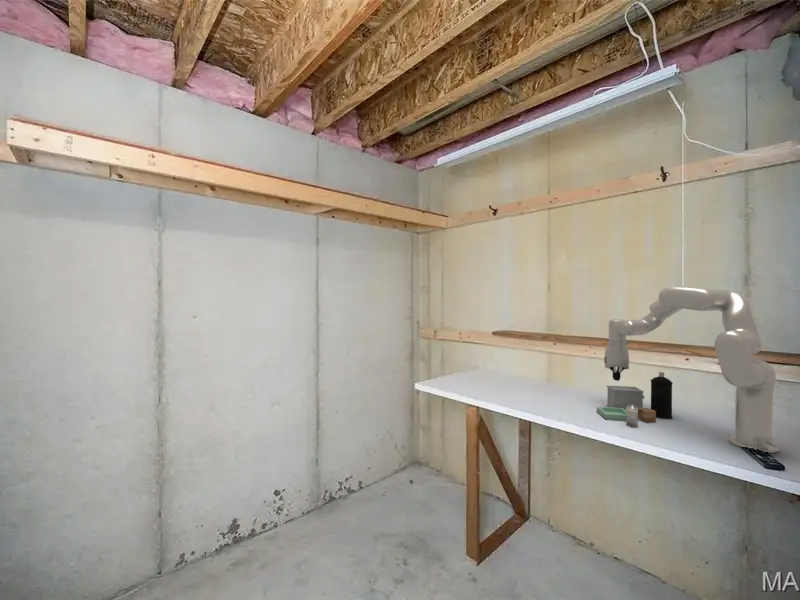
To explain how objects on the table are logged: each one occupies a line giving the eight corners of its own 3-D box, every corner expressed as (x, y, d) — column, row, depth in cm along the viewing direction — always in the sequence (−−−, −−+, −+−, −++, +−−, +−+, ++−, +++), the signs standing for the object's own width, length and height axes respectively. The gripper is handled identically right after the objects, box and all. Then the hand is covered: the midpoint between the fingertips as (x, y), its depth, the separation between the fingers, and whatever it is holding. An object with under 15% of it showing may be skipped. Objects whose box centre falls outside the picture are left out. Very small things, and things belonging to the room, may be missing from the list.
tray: (633, 421, 152) (633, 415, 152) (606, 419, 154) (606, 414, 154) (622, 413, 163) (622, 408, 163) (596, 411, 164) (596, 406, 164)
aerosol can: (676, 419, 154) (677, 374, 154) (655, 418, 156) (656, 373, 156) (666, 413, 162) (666, 371, 162) (646, 412, 164) (646, 370, 164)
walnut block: (655, 422, 151) (655, 411, 151) (645, 423, 150) (645, 411, 150) (646, 418, 156) (646, 407, 156) (636, 418, 155) (636, 407, 155)
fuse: (639, 427, 144) (640, 407, 144) (628, 427, 145) (629, 406, 145) (635, 424, 148) (635, 404, 148) (624, 423, 149) (624, 403, 149)
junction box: (647, 414, 161) (648, 391, 161) (613, 412, 164) (614, 389, 164) (638, 408, 170) (638, 386, 170) (606, 406, 172) (606, 385, 172)
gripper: (629, 343, 178) (629, 379, 178) (598, 342, 180) (597, 377, 181) (637, 345, 170) (636, 382, 170) (603, 344, 173) (603, 381, 173)
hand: (616, 380), depth 176 cm, fingers closed
